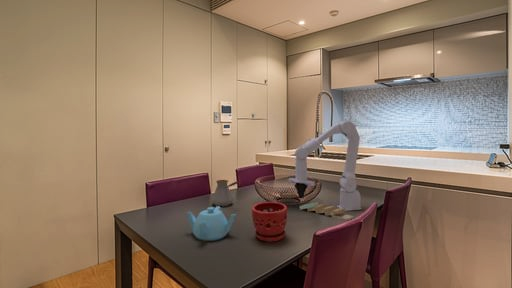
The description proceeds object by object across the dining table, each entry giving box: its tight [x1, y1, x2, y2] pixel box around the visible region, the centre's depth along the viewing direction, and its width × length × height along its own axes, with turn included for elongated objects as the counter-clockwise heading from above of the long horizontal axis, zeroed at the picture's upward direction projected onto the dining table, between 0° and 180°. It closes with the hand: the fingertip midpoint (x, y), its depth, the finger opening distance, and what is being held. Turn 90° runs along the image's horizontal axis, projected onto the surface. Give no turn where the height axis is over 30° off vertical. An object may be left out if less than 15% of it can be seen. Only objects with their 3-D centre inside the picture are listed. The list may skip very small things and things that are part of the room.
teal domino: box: [299, 201, 320, 211], centre depth 141 cm, size 2×5×8 cm
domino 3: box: [324, 208, 347, 217], centre depth 131 cm, size 2×5×8 cm
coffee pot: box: [211, 179, 241, 208], centre depth 148 cm, size 21×12×15 cm, turn 39°
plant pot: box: [251, 201, 288, 243], centre depth 107 cm, size 13×13×12 cm
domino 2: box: [314, 205, 337, 214], centre depth 134 cm, size 2×5×8 cm
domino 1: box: [306, 203, 328, 212], centre depth 138 cm, size 2×5×8 cm
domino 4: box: [331, 213, 354, 222], centre depth 128 cm, size 2×5×8 cm
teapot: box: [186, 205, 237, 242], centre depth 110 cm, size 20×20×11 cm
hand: (301, 197), depth 144 cm, fingers closed
